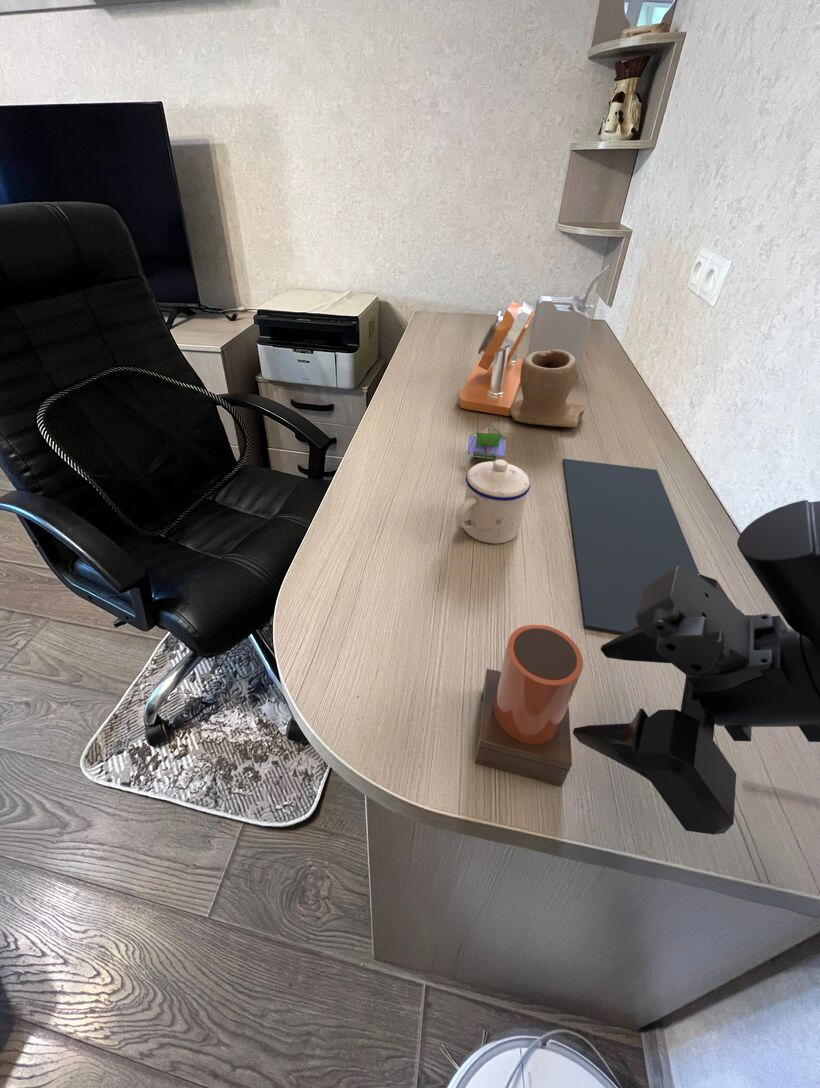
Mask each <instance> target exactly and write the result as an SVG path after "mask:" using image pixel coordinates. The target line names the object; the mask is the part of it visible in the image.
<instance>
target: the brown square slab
mask: <svg viewBox="0 0 820 1088" xmlns="http://www.w3.org/2000/svg"><path fill="white" fill-rule="evenodd" d="M500 673H501V670H496V669H492V668H486V671H485V676H484V680H483V685H482V690H481V698H480V701H482V710H481V719H480V720H481V721H480V731H479V737H478V741H477V745H476V750H475V759H474V763H475V764H477V765H481V766H484V767H489V768H491V769H495V770H500V771H503V772H507V773H511V774H515V775H518V776H521V777H525V778H529V779H533V780H537V781H540V782H544V783H548V784H553V785H556V786H560V787H563V786H564V783H565V782H566V779H567V777H568V774H569V773H570V770H571V768H572V765H573V757H572V740H571V739H572V738H571V722H570V703H569V704H568V707H567V710H566V712H565V715H564V717H563V720H562V722H561V725H560V727H559V730H558V732H557V734H556V735H555V736H554V737H553V738H552V739H551V740H549V741H547V742H545V743H541V744H528V743H524V742H521V741H519V740H517V739H515V738H513V737H511V736H510V735H509V734H507V733H506V732H505V731H504V730H503V729H502V727H501V726H500V725H499V723H498V721H497V720H496V717H495V715H494V710H493V702H494V698H495V694H496V689H497V685H498V681H499V677H500Z"/></svg>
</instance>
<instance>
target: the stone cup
mask: <svg viewBox="0 0 820 1088" xmlns="http://www.w3.org/2000/svg"><path fill="white" fill-rule="evenodd" d="M522 360H523V363H522V366H521V375H520V381H521V384H520V388H521V392H522V399H519V400H516V401H514V403H513V405H512V406H511V409H510V414H509V415H510V416H511V417H512V419H513V420H514V421H516V422H518V423H523V424H529V425H536V426H548V427H558V428H559V427H562V428H576V427H577V426H578V425H579V422H580V421H581V420H582V418H583V416H584V413H585V410H586V404H576V403H568V402H567V399H568V397H569V395H570V392H571V390H572V388H573V385H574V383H575V381H576V379H577V373H578V371H577V363H576V360H575V358H574V356H573V355H571V354H570V353H568V352H566V351H562V350H557V349H553V350H548V351H536V352H533V353H531V354H529V355H528V356H527V355H526V356H525V358H524V359H522Z"/></svg>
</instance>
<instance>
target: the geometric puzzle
mask: <svg viewBox="0 0 820 1088" xmlns="http://www.w3.org/2000/svg"><path fill="white" fill-rule="evenodd" d="M486 427H488V428H487V432H485V433H484V432H481V431H482V430H483V429H485V428H486ZM506 450H507V438H506V436H505V435H504V434H503V432H502V431H501V429H500V428H498V427H496V426H494V425H491V424H489V423H488V424H487V425H486V426H485V427H482V429H479V431H476V432H475V431H474V432H472V433H471V434H468V443H467V451H466V453H467V454H468V455H470V456H472V457H473V458H474V459H475V461H477V458H480V457H481V458H484V462H487V458H488V459H489V458H490V459H492V460H491V461H494V460H497V457H498V459H501V457H502V458H506Z"/></svg>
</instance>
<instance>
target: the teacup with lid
mask: <svg viewBox="0 0 820 1088" xmlns="http://www.w3.org/2000/svg"><path fill="white" fill-rule="evenodd" d="M465 482H466V486H465V492H464V493H465V494H464V501H462V503H461V504H460V505H459V507H458V508H457V510H456V514H455V521H456V523H457V525H458V526H459V527H460V528H462V529H463V530H464V531H465V533H467V535H469V536H470V537H471V538H473V539H475V540H477V541H479V542H482V543H485V544H492V545H493V544H503V543H507V542H508V543H509V542H510V541H512V540H513V539H514V538H516V537H517V535H518V533H519V531H520V527H521V522H522V517H523V512H524V507H525V504H526V499H527V495H528V492H529V491H530V489H531V483H530V479H529V477H528V475H527V473H526V472H525V471H523V470H522V469H521V468H519V467H517V466H515V465H513V464H511V463H508V461H506V460H505V459H495V460H493V461H492V460H491V461H486V462H485V461H484V462H478V463H476V464H475V465H473V466H472V467H471V468H470V469H469V470H468V471H467V473H466V475H465Z"/></svg>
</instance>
